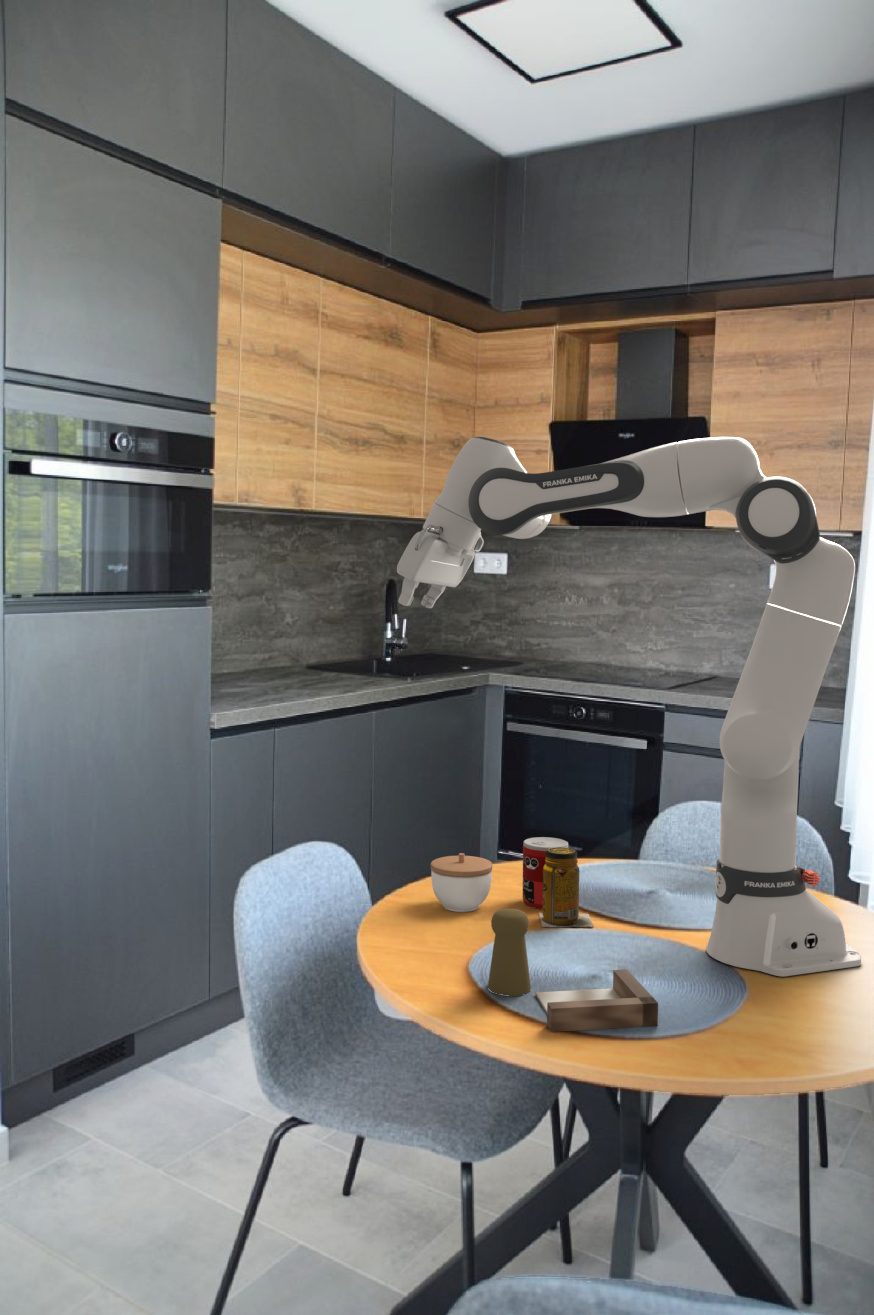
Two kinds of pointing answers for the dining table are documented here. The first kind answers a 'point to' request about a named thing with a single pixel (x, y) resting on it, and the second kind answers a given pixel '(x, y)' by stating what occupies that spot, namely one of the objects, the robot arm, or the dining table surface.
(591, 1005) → the corner lip
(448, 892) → the lidded jar
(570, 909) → the condiment
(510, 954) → the olive game pawn
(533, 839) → the canned food
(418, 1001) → the dining table surface
